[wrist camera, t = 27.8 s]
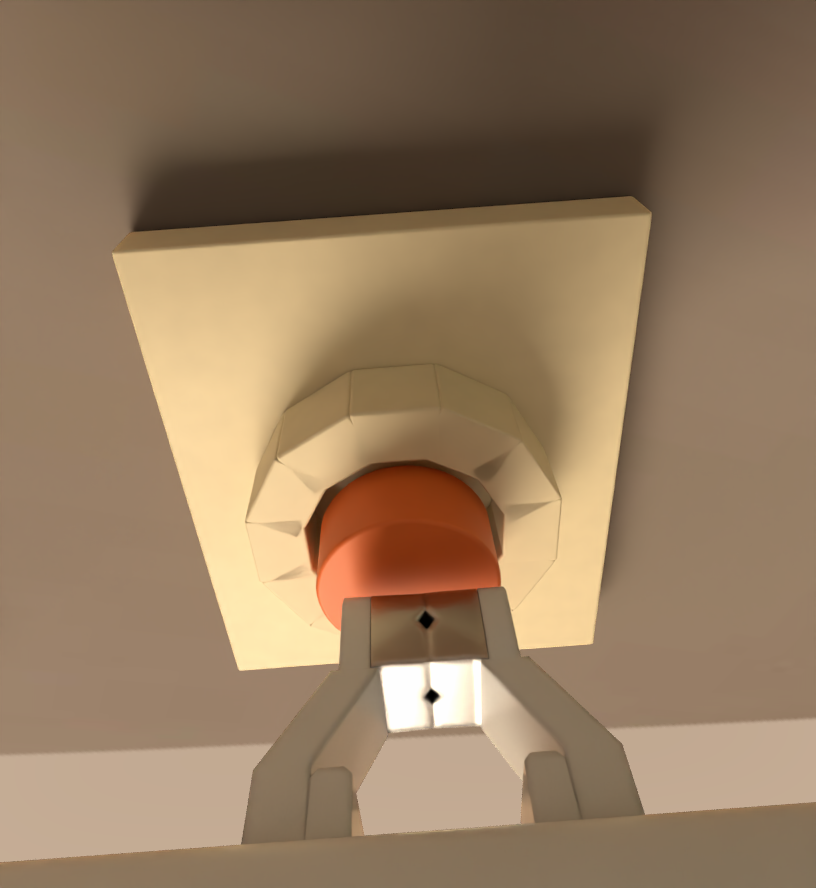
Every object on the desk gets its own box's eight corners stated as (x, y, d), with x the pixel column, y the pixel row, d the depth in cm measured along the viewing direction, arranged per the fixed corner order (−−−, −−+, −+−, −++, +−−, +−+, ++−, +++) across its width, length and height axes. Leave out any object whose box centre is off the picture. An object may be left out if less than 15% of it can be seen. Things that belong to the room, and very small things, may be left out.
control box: (244, 637, 20) (227, 729, 18) (128, 231, 14) (74, 287, 11) (582, 612, 20) (612, 700, 18) (633, 194, 14) (691, 243, 11)
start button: (331, 596, 16) (327, 659, 14) (309, 470, 14) (302, 527, 12) (488, 584, 16) (500, 646, 14) (489, 457, 14) (504, 513, 12)
